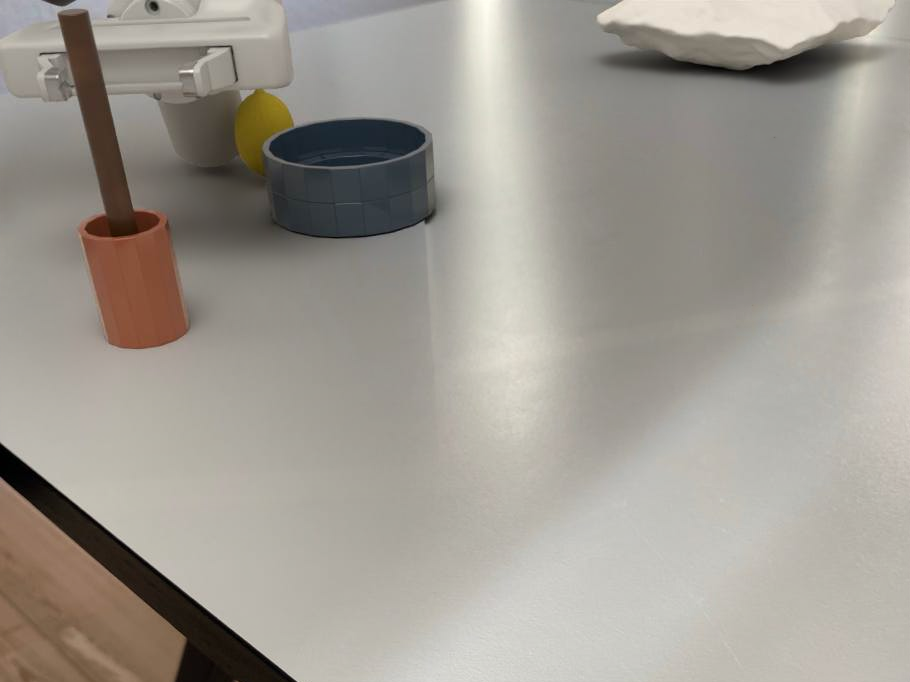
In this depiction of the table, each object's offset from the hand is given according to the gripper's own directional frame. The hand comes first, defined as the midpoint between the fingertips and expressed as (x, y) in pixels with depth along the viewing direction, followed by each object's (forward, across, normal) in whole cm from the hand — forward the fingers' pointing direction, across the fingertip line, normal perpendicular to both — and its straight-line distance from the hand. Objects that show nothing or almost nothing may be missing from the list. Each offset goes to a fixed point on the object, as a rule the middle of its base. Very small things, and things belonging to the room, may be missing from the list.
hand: (120, 86), depth 73 cm
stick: (+5, 0, +15) cm, 16 cm away
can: (-34, -4, +14) cm, 37 cm away
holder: (+5, 0, +15) cm, 16 cm away
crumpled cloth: (-67, +52, +17) cm, 87 cm away
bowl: (-19, +11, +16) cm, 27 cm away
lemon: (-28, +2, +16) cm, 33 cm away
